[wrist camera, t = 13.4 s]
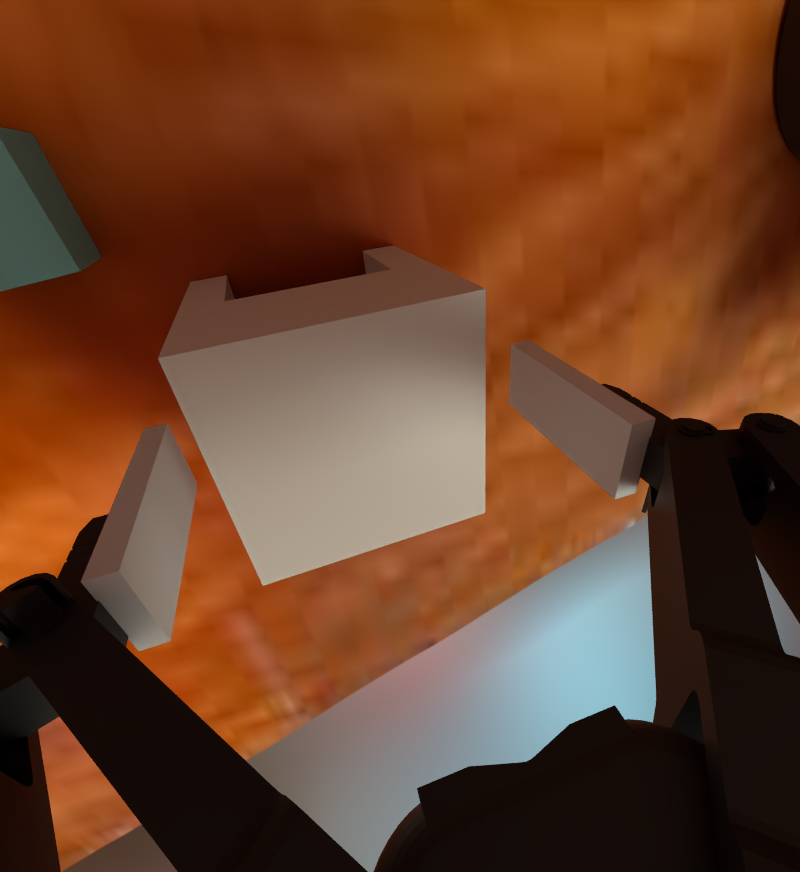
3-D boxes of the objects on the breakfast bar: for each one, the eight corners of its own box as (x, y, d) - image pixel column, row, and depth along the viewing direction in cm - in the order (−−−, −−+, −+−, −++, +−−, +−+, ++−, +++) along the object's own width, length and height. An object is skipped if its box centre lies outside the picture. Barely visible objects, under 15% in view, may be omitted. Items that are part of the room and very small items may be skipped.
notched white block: (411, 411, 25) (485, 512, 17) (254, 453, 23) (262, 585, 16) (393, 245, 20) (486, 289, 12) (190, 281, 18) (157, 358, 10)
